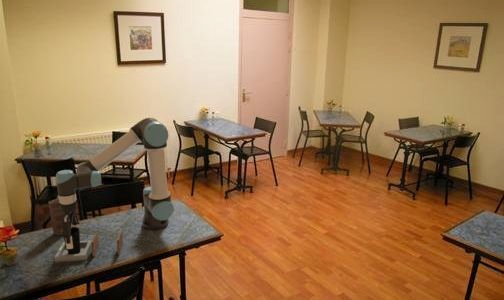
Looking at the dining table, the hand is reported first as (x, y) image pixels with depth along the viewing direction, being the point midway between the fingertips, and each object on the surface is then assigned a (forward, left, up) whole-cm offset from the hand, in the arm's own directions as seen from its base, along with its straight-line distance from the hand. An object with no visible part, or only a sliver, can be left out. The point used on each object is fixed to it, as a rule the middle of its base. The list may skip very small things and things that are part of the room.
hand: (73, 242), depth 186 cm
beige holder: (-16, -1, -6) cm, 17 cm away
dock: (0, 0, -6) cm, 6 cm away
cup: (0, 0, -6) cm, 6 cm away
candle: (+13, -23, -7) cm, 27 cm away
